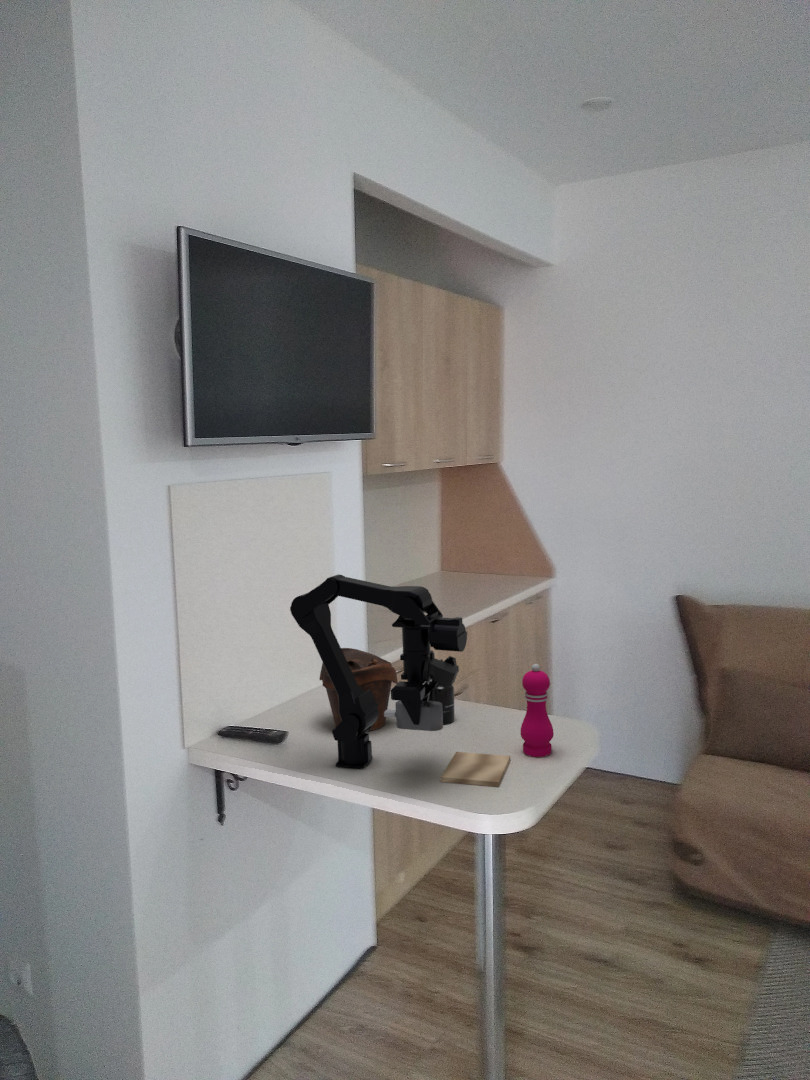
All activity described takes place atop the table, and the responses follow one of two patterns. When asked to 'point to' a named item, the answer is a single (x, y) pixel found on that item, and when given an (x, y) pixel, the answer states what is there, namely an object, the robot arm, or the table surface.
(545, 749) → the pepper mill
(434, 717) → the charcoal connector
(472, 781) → the cork mat
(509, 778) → the table surface
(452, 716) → the supplement bottle
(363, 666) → the brown tapered rounded piece
